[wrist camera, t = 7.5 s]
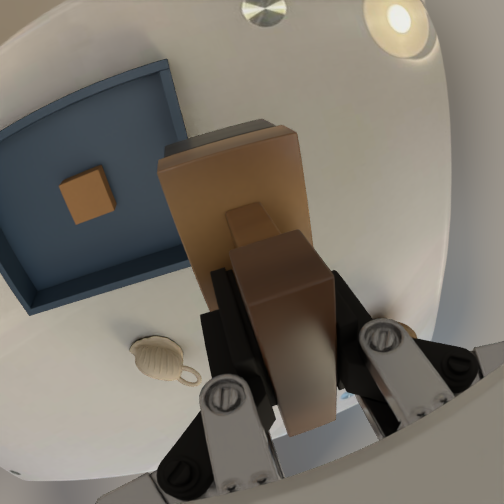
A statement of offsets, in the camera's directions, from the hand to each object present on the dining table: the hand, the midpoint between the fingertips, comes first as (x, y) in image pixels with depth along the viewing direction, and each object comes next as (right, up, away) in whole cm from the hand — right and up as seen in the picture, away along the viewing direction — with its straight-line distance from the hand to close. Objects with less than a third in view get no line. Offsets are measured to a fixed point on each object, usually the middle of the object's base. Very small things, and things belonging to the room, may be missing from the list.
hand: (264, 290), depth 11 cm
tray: (-16, +7, +15) cm, 23 cm away
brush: (-1, +2, +3) cm, 4 cm away
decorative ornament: (-12, -11, +27) cm, 32 cm away
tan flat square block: (-15, +7, +14) cm, 22 cm away
